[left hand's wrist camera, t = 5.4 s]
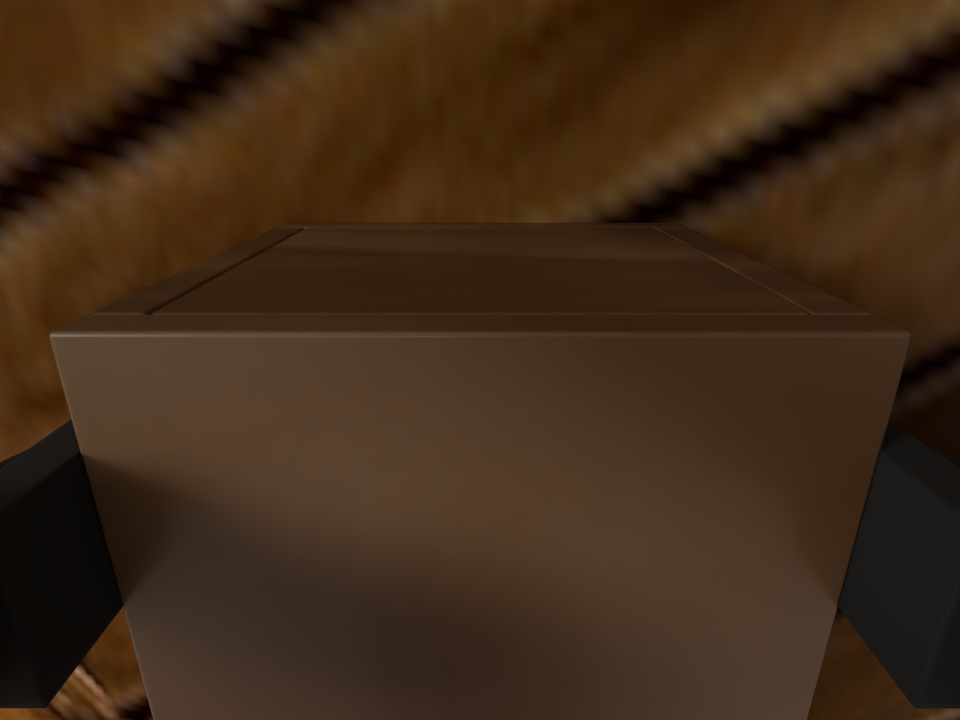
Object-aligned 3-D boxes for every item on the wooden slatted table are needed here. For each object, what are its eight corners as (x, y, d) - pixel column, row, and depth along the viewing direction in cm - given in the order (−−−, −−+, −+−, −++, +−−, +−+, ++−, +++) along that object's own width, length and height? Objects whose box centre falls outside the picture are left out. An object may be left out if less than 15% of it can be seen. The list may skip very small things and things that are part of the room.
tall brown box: (621, 693, 23) (714, 1062, 14) (338, 694, 23) (245, 1063, 14) (676, 222, 17) (916, 332, 7) (283, 222, 17) (44, 331, 7)
